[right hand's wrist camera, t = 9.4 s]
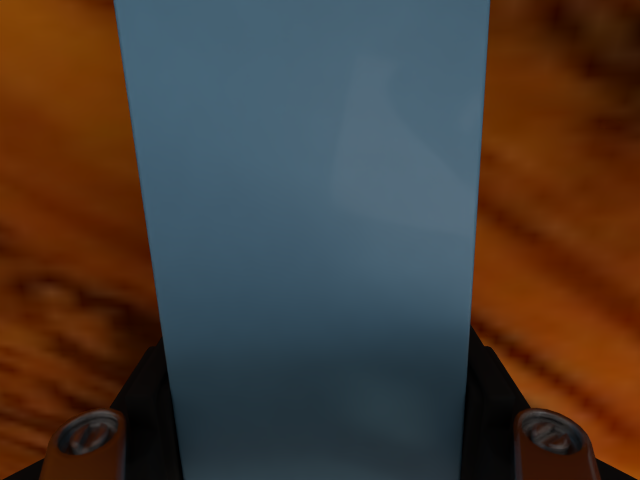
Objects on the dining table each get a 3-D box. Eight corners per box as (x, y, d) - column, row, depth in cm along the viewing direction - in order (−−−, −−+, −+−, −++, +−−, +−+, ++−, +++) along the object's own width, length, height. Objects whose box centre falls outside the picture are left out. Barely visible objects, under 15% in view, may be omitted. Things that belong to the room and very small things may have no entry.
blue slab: (213, -233, 14) (-72, -1227, 4) (383, -239, 14) (571, -1243, 4) (259, 338, 20) (196, 578, 9) (381, 334, 20) (456, 569, 9)
